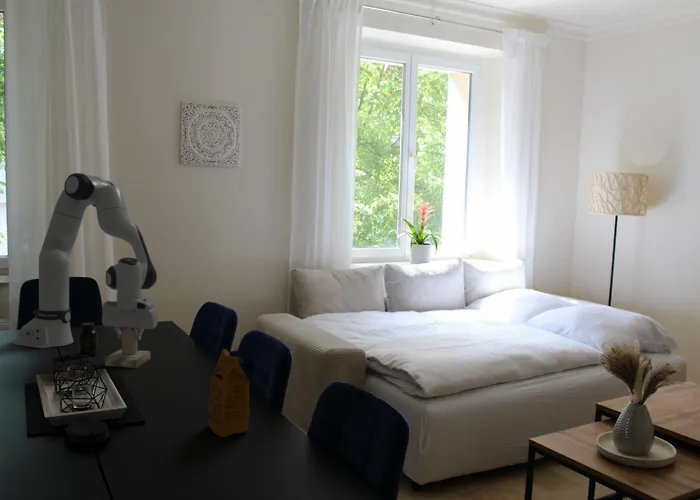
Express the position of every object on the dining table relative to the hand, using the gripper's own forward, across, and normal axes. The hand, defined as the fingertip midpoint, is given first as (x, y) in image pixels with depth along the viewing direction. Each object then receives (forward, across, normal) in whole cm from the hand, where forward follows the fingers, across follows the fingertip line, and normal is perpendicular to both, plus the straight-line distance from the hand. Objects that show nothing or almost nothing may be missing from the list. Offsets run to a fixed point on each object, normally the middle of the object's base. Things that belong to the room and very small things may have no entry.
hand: (129, 338), depth 243 cm
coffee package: (+9, +54, -55) cm, 78 cm away
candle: (+6, 0, 0) cm, 6 cm away
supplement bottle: (+9, -19, +6) cm, 22 cm away
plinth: (+9, 0, 0) cm, 9 cm away
